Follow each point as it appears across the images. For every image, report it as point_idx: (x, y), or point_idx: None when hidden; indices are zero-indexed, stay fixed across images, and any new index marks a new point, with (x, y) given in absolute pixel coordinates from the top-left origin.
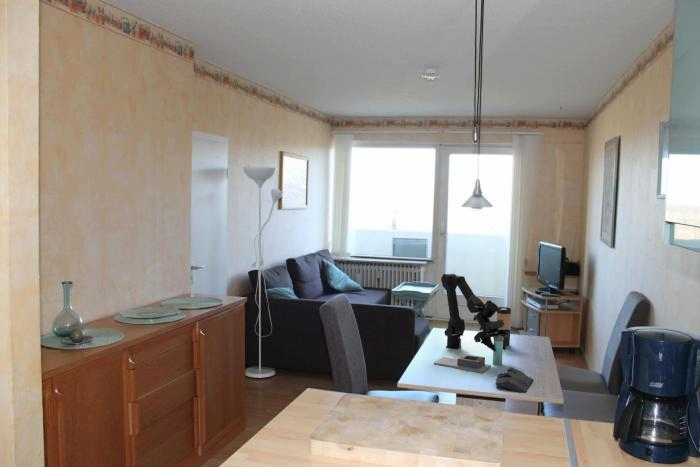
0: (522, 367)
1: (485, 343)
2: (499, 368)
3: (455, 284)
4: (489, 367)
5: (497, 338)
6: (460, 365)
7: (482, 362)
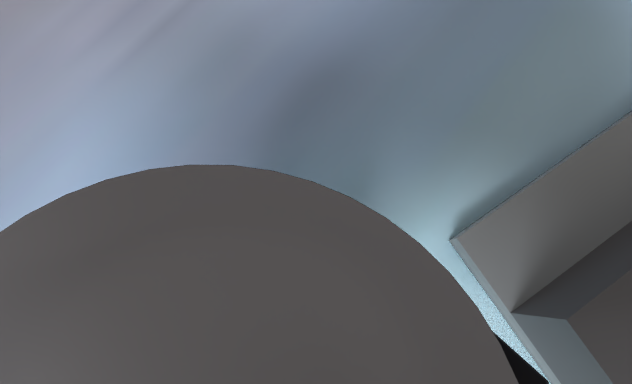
0: (79, 68)
1: None
2: (389, 140)
3: None
4: (496, 207)
5: (446, 278)
6: None
7: (620, 249)
